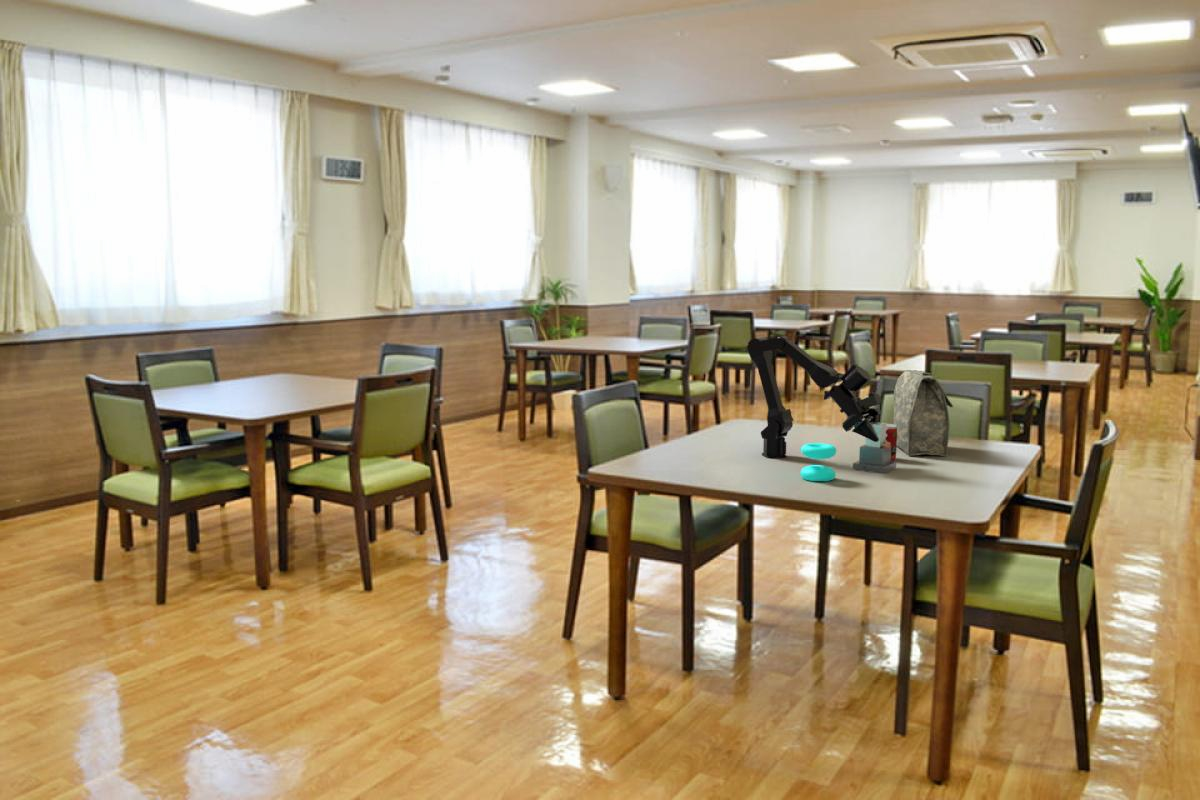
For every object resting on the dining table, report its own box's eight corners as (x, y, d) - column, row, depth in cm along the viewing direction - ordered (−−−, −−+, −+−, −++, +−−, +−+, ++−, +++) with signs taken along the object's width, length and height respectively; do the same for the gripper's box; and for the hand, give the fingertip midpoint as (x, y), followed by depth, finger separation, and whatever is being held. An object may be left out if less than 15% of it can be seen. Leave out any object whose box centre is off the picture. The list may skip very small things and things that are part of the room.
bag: (954, 457, 316) (958, 373, 313) (904, 456, 317) (908, 373, 313) (933, 444, 339) (937, 366, 335) (887, 444, 339) (890, 366, 335)
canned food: (897, 461, 309) (898, 427, 307) (871, 460, 311) (872, 426, 309) (894, 457, 316) (896, 423, 315) (869, 456, 318) (870, 422, 317)
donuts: (808, 441, 289) (841, 444, 284) (807, 474, 291) (839, 477, 285) (796, 446, 281) (829, 449, 276) (795, 480, 282) (828, 484, 277)
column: (865, 462, 297) (866, 423, 296) (870, 460, 301) (871, 421, 299) (881, 464, 294) (882, 425, 293) (886, 461, 298) (888, 423, 296)
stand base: (852, 469, 297) (853, 442, 296) (864, 464, 305) (865, 437, 304) (884, 473, 291) (886, 445, 290) (896, 467, 299) (897, 440, 298)
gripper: (853, 387, 289) (888, 427, 284) (876, 381, 304) (909, 419, 299) (827, 411, 295) (861, 451, 290) (851, 404, 310) (883, 441, 305)
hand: (880, 440), depth 296 cm, fingers closed on column, 4 cm apart
